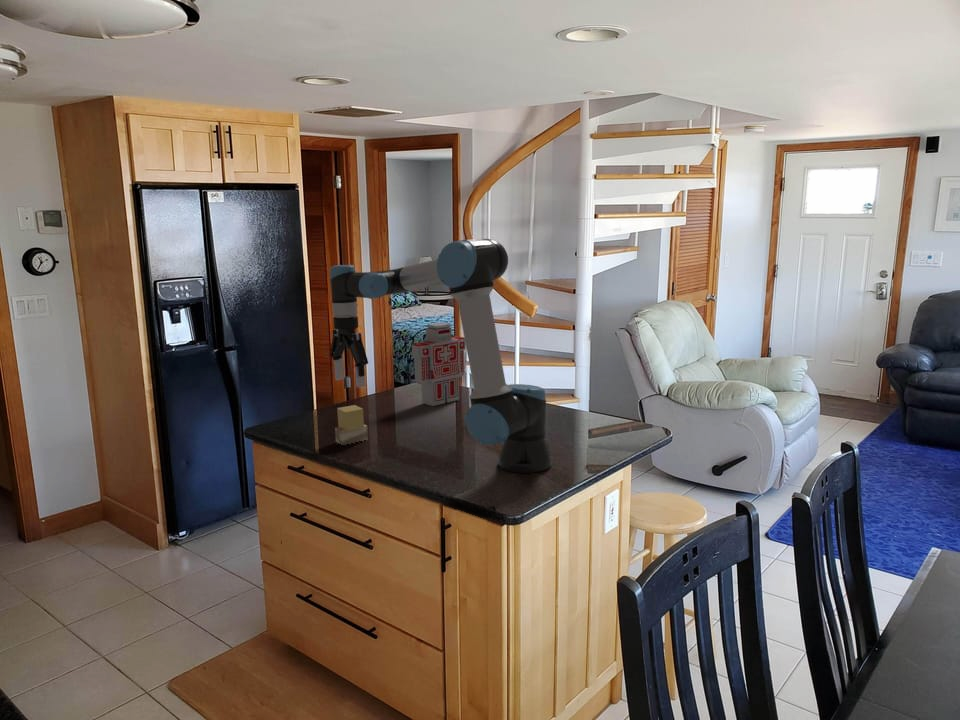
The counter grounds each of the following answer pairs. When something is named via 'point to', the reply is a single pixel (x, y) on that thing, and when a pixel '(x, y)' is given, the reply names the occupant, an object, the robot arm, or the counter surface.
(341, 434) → the birch plinth
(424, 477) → the counter surface
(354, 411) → the ochre cube
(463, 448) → the counter surface
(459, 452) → the counter surface
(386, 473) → the counter surface
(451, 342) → the toy
